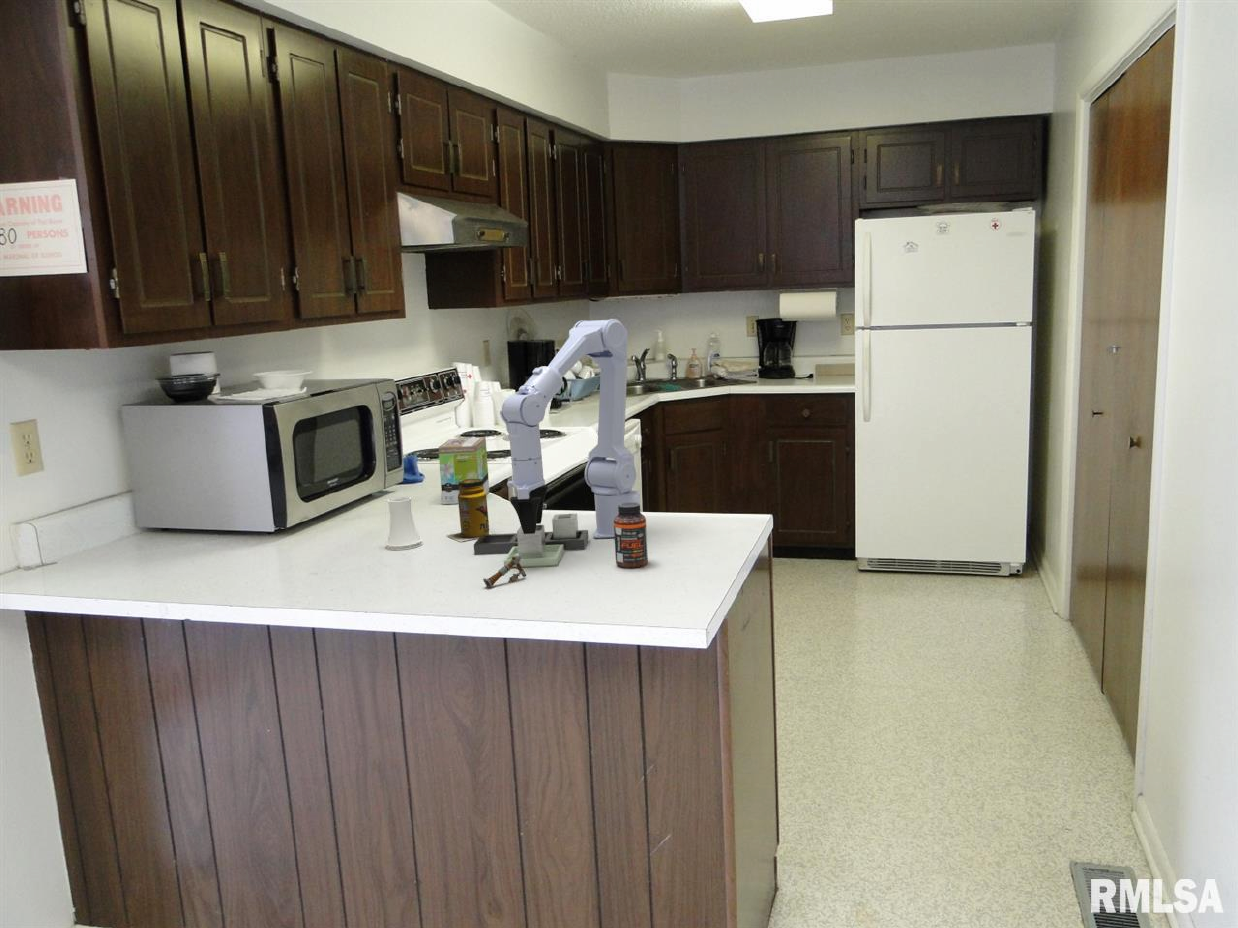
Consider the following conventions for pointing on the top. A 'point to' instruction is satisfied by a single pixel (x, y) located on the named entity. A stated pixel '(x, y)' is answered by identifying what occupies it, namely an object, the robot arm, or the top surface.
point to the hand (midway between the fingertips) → (532, 528)
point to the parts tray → (551, 558)
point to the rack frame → (507, 541)
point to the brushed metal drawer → (565, 526)
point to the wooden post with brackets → (504, 570)
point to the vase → (402, 525)
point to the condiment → (472, 510)
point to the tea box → (462, 465)
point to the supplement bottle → (630, 536)
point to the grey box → (532, 543)
